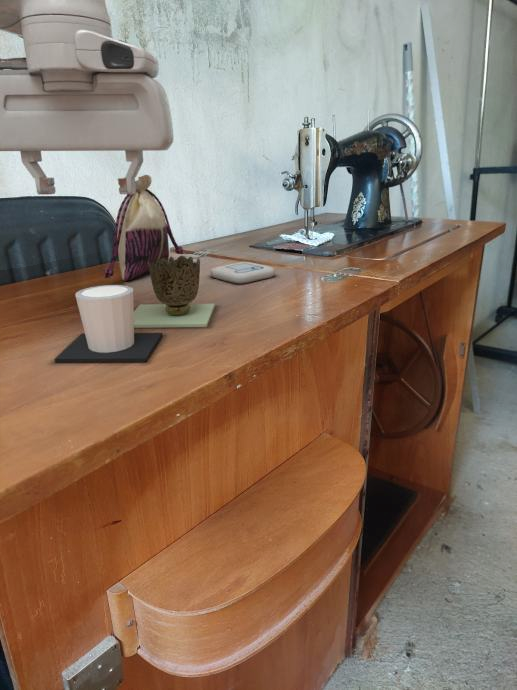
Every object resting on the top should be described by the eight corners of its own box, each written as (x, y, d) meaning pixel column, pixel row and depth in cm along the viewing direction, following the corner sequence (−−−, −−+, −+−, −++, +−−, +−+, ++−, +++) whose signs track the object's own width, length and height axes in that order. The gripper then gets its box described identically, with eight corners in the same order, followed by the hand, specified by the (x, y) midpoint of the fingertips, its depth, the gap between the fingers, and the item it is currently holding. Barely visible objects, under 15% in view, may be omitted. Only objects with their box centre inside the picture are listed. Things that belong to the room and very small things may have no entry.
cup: (144, 313, 78) (138, 260, 75) (186, 303, 82) (182, 253, 79) (169, 324, 72) (164, 268, 69) (212, 313, 77) (209, 260, 74)
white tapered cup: (78, 341, 67) (70, 288, 64) (131, 331, 70) (125, 281, 67) (88, 358, 61) (80, 301, 59) (145, 347, 64) (139, 293, 62)
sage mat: (122, 328, 73) (121, 324, 73) (140, 307, 82) (139, 304, 82) (206, 327, 72) (206, 323, 72) (215, 306, 82) (215, 303, 82)
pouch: (133, 288, 94) (120, 178, 87) (94, 285, 96) (79, 178, 89) (191, 260, 116) (185, 171, 109) (158, 259, 118) (150, 171, 111)
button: (279, 267, 99) (238, 276, 93) (279, 276, 100) (239, 285, 94) (245, 260, 106) (206, 268, 100) (245, 268, 107) (206, 276, 101)
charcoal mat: (55, 362, 62) (54, 358, 61) (82, 336, 70) (81, 333, 70) (146, 362, 61) (145, 358, 61) (162, 336, 69) (162, 332, 69)
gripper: (-44, 53, 52) (-17, 196, 57) (159, 50, 51) (168, 196, 56) (-11, 62, 57) (11, 191, 62) (172, 60, 57) (179, 191, 62)
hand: (87, 194), depth 59 cm, fingers open, 8 cm apart
